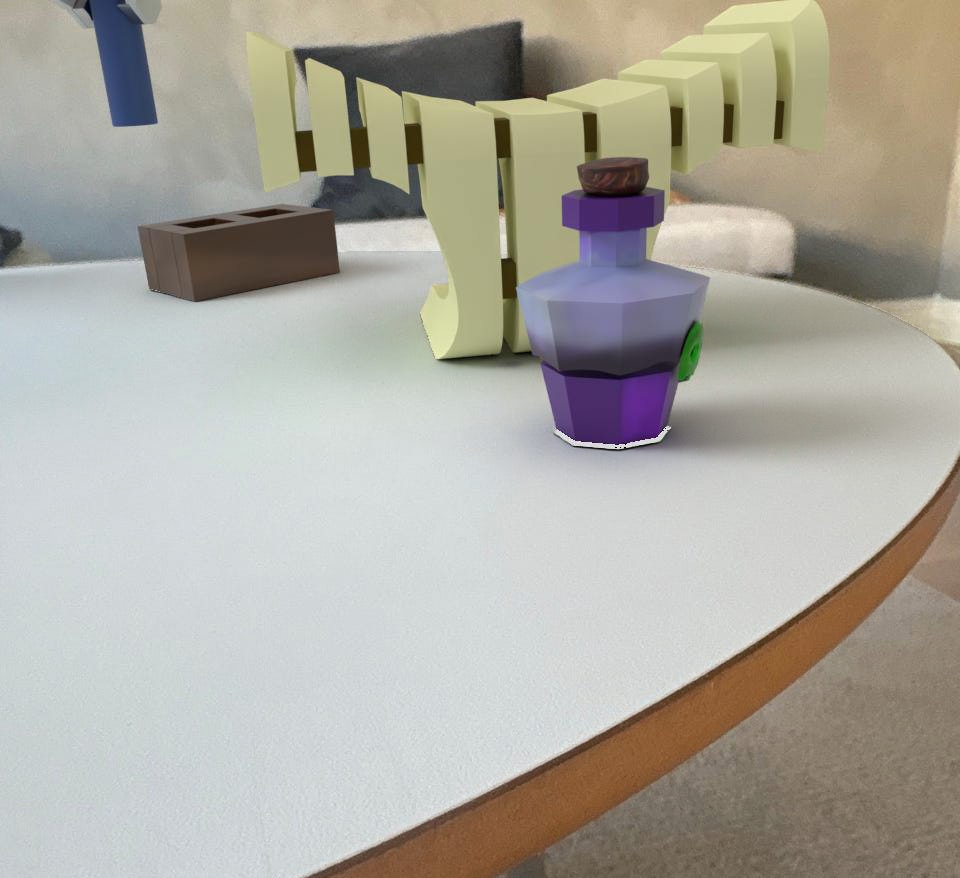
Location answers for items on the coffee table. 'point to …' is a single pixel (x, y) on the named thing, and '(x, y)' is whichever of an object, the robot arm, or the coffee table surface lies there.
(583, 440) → the potion bottle
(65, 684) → the coffee table surface
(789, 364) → the coffee table surface
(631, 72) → the slatted curved stool
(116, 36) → the handle
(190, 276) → the holder
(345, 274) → the coffee table surface
